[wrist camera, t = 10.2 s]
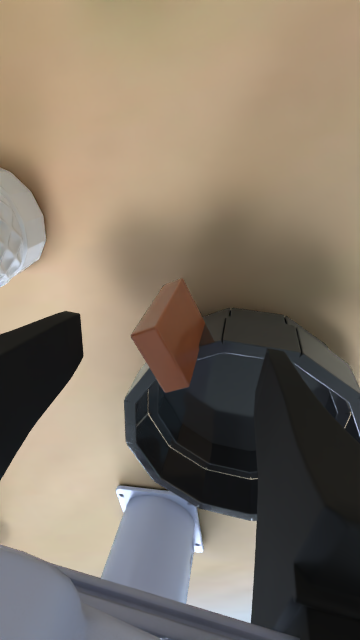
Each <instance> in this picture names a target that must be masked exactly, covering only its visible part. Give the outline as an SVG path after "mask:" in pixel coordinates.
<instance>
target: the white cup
mask: <svg viewBox="0 0 360 640" xmlns="http://www.w3.org/2000/svg"><path fill="white" fill-rule="evenodd" d="M45 242H46V233H45V224H44V216H43V214H42V212H41V210H40V208H39V206H38V204H37V202H36V200H35V198H34V196H33V194H32V192H31V191H30V190H29V189H28V188H27V187H26V186H25V185H24V184H23V183H22V182H21V181H20V180H19V179H18V178H17V177H15V176H14V175H13V174H12V173H11V172H10V171H7V170H5V169H2V168H0V287H2V286H3V285H5V284H6V283H8V282H9V281H10V280H11V278H12V277H14V276H15V275H17V274H19V273H20V272H22V271H23V270H25V269H26V268H28V267H29V266H30V265H32V264H33V263H34V262H36V261H37V260H38V259H39V258H40V256H41V253H42V250H43V247H44V245H45Z"/></svg>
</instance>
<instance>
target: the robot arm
mask: <svg viewBox="0 0 360 640" xmlns="http://www.w3.org/2000/svg"><path fill="white" fill-rule="evenodd" d="M82 358H83V344H82V332H81V319H80V314H78V313H73V312H68V311H64V312H61V313H57V314H55V315H52V316H49V317H46V318H44V319H41V320H38V321H36V322H33V323H31V324H28V325H25V326H23V327H20V328H18V329H15V330H12V331H9V332H6V333H3V334H1V335H0V480H1V478H2V477H3V475H4V473H5V472H6V470H7V468H8V467H9V465H10V463H11V461H12V460H13V458H14V456H15V455H16V453H17V451H18V450H19V448H20V447H21V445H22V443H23V442H24V440H25V439H26V437H27V435H28V434H29V432H30V431H31V429H32V428H33V427H34V425H35V424H36V422H37V421H38V420H39V418H40V417H41V416H42V415H43V413H44V412H45V411H46V410H47V408H48V407H49V406H50V404H51V403H52V402H53V401H54V399H55V398H56V397H57V396H58V394H59V393H60V392H61V390H62V389H63V388H64V387H65V385H66V384H67V383H68V381H69V380H70V379H71V377H72V376H73V374H74V372H75V371H76V369H77V367H78V366H79V364H80V362H81V360H82ZM254 426H255V441H256V455H257V470H258V502H257V528H256V550H255V568H254V586H253V600H252V615H251V623H247V622H244V621H241V620H237V619H234V618H231V617H228V616H224V615H221V614H218V613H214V612H211V611H208V610H204V609H201V608H198V607H194V606H191V605H188V604H186V601H187V594H188V587H189V581H190V574H191V567H192V560H193V554H194V552H200V553H201V552H203V549H204V546H203V540H202V535H201V529H200V523H199V518H198V512H197V507H195V506H194V505H192V504H190V503H189V502H187V501H185V500H184V499H182V498H181V497H179V496H177V495H176V494H174V493H172V492H171V491H165V490H156V489H147V488H138V487H129V486H117V488H116V493H117V496H118V498H119V501H120V504H121V507H122V510H123V513H124V514H123V517H122V519H121V522H120V525H119V528H118V531H117V533H116V536H115V539H114V542H113V545H112V547H111V550H110V553H109V556H108V559H107V561H106V564H105V567H104V570H103V573H102V575H101V578H98V577H95V576H92V575H88V574H85V573H82V572H78V571H75V570H72V569H68V568H65V567H62V566H58V565H55V564H52V563H49V562H47V561H44V560H42V559H40V558H37V557H35V556H33V555H30V554H28V553H26V552H23V551H20V550H17V549H13V548H10V547H7V546H3V545H0V640H360V443H359V442H358V441H356V440H355V439H354V438H353V437H352V436H351V435H350V434H349V433H348V432H347V431H346V430H345V429H344V428H343V427H342V426H341V425H340V424H339V423H338V422H337V421H336V419H335V418H334V417H333V416H332V415H331V414H330V413H329V412H328V411H327V409H326V408H325V407H324V406H323V405H322V403H321V402H320V401H319V400H318V399H317V397H316V396H315V395H314V394H313V392H312V391H311V390H310V388H309V387H308V385H307V384H306V383H305V381H304V380H303V378H302V377H301V376H300V374H299V373H298V371H297V370H296V368H295V367H294V365H293V364H292V362H291V360H290V359H289V357H288V356H287V354H286V353H285V352H284V351H279V350H274V349H269V348H267V350H266V354H265V358H264V361H263V365H262V369H261V372H260V376H259V380H258V384H257V387H256V391H255V404H254Z"/></svg>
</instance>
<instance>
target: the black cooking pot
mask: <svg viewBox="0 0 360 640" xmlns="http://www.w3.org/2000/svg"><path fill="white" fill-rule="evenodd" d="M131 338H132V340H133V341H134V343H135V345H136V346H137V348H138V350H139V351H140V353H141V354H142V356H143V358H144V359H145V361H146V363H145V364H144V365H143V367H142V368H141V369H140V370H139V372H138V373H137V375H136V377H135V379H134V381H133V383H132V385H131V387H130V389H129V391H128V393H127V395H126V397H125V400H124V411H125V436H126V442H127V445H128V447H129V448H130V450H131V451H132V452H133V454H134V455H135V456H136V458H137V459H138V461H139V462H140V463H141V465H142V466H143V468H144V469H145V470H146V472H147V473H148V474H149V476H150V477H151V479H152V480H154V482H156V483H158V484H159V485H161V486H162V487H164V488H166V489H167V490H169V491H171V492H172V493H174V494H176V495H177V496H179V497H181V498H182V499H184V500H185V501H187V502H189V503H190V504H192V505H194V506H195V507H198V508H199V509H204V510H208V511H212V512H216V513H220V514H224V515H229V516H233V517H237V518H241V519H245V520H249V521H251V519H252V521H257V502H258V479H253V478H258V470H257V455H256V441H255V426H254V404H255V391H256V387H257V384H258V380H259V376H260V372H261V369H262V365H263V361H264V358H265V354H266V350H267V348H269V349H274V350H279V351H284V352H285V353H286V354H287V356H288V357H289V359H290V360H291V362H292V364H293V365H294V367H295V368H296V370H297V371H298V373H299V374H300V376H301V377H302V378H303V380H304V381H305V383H306V384H307V385H308V387H309V388H310V390H311V391H312V392H313V394H314V395H315V396H316V397H317V399H318V400H319V401H320V402H321V403H322V405H323V406H324V407H325V408H326V409H327V411H328V412H329V413H330V414H331V415H332V416H333V417H334V418H335V419H336V421H337V422H338V423H339V424H340V425H341V426H342V427H343V428H344V427H345V425H346V423H347V421H348V418H349V416H350V412H351V416H350V419H349V421H348V423H347V425H346V428H345V430H346V431H347V432H348V433H349V434H350V435H351V436H352V437H353V438H354V439H355V440H356V441H358V442H359V443H360V388H359V385H358V383H357V381H356V378H355V376H354V374H353V372H352V369H351V367H350V366H349V364H348V363H347V362H345V361H344V360H343V359H341V358H340V357H339V356H337V355H336V354H334V353H333V352H332V351H330V350H329V349H328V347H327V346H326V344H325V343H323V342H322V341H320V340H319V339H318V338H316V337H315V336H313V335H312V334H311V333H309V332H308V331H307V330H305V329H304V328H302V327H301V326H300V325H298V324H297V323H296V322H294V321H293V320H291V319H290V318H289V317H287V316H285V317H284V315H281V314H274V313H267V312H259V311H252V310H245V309H238V308H232V309H230V308H227V309H224V310H221V311H219V312H216V313H213V314H210V315H207V316H204V317H202V316H201V314H200V312H199V310H198V308H197V306H196V304H195V302H194V300H193V298H192V296H191V294H190V292H189V290H188V288H187V286H186V284H185V282H184V280H183V278H180V279H177V280H175V281H173V282H170V283H168V284H165V285H163V287H162V288H161V290H160V291H159V293H158V294H157V296H156V297H155V299H154V300H153V302H152V303H151V305H150V307H149V308H148V310H147V311H146V313H145V314H144V316H143V317H142V319H141V320H140V322H139V323H138V325H137V326H136V328H135V329H134V331H133V332H132V334H131ZM148 389H149V390H148ZM148 413H149V415H150V417H151V418H152V420H153V421H154V423H155V424H156V426H157V427H158V429H159V430H160V432H161V433H162V435H163V436H164V438H165V440H166V441H167V443H168V444H169V445H171V447H172V448H174V449H175V450H177V451H178V452H180V453H181V454H183V455H185V456H186V457H188V458H189V459H191V460H193V461H194V462H196V463H197V464H199V465H201V466H202V467H204V468H207V469H208V470H205V469H203V468H202V467H200V466H199V465H197V464H196V463H194V462H192V461H191V460H189V459H188V458H186V457H184V456H183V455H181V454H180V453H178V452H176V451H175V450H173V449H172V448H170V447H169V446H168V444H167V443H166V441H165V440H164V438H163V437H162V435H161V434H160V432H159V431H158V429H157V428H156V426H155V425H154V423H153V422H152V420H151V419H150V417H149V416H148ZM209 470H212V471H209ZM214 471H217V472H214ZM218 472H222V473H218ZM223 473H226V474H223ZM227 474H231V475H227ZM232 475H235V476H232ZM236 476H240V477H236ZM241 477H244V478H241ZM250 477H251V478H252V479H253V480H250ZM245 478H249V479H245Z"/></svg>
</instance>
